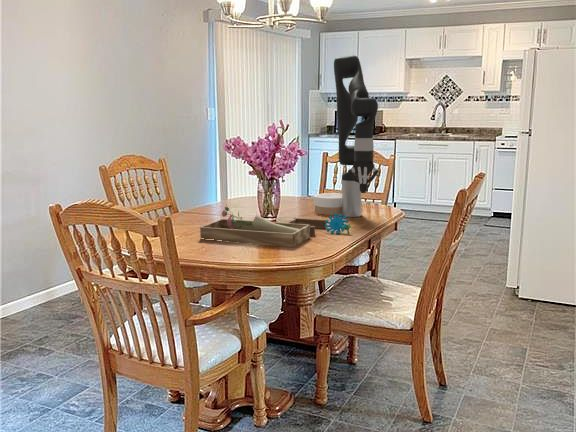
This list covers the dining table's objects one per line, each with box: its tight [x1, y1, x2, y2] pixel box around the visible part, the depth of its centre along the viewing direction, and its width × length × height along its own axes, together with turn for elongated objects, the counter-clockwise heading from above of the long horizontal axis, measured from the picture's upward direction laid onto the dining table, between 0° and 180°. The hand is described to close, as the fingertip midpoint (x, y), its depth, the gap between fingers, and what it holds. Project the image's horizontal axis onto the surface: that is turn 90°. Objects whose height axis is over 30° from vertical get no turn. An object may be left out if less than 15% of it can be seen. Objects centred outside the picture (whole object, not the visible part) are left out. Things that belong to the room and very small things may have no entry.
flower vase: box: [221, 204, 299, 233], centre depth 231 cm, size 12×12×35 cm
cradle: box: [285, 217, 327, 236], centre depth 243 cm, size 16×14×4 cm
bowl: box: [314, 192, 342, 216], centre depth 285 cm, size 17×17×8 cm
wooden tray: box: [199, 218, 311, 248], centre depth 230 cm, size 18×40×5 cm, turn 68°
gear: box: [324, 213, 351, 235], centre depth 239 cm, size 11×6×10 cm
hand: (363, 192), depth 231 cm, fingers closed
